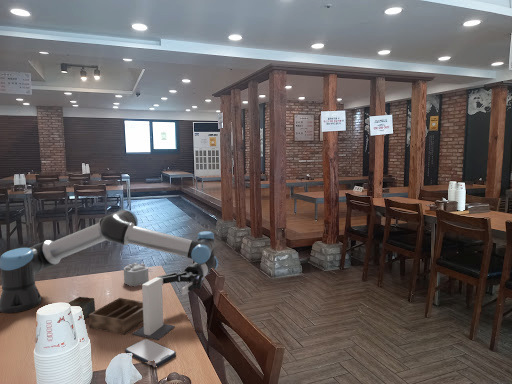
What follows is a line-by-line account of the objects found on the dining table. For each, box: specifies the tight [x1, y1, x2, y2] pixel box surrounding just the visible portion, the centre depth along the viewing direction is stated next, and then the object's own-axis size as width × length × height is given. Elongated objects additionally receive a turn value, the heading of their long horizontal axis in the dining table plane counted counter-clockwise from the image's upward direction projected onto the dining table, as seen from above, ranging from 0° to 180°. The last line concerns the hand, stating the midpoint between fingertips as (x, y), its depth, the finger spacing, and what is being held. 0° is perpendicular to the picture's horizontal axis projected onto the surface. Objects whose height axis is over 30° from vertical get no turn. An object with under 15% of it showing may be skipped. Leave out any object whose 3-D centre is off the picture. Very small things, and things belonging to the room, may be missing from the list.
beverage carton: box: [68, 296, 96, 320], centre depth 135 cm, size 8×19×7 cm, turn 164°
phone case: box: [124, 338, 177, 368], centre depth 113 cm, size 9×2×16 cm
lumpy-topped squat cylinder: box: [123, 262, 150, 287], centre depth 177 cm, size 10×13×9 cm
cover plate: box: [141, 276, 164, 335], centre depth 126 cm, size 2×8×18 cm, turn 159°
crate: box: [88, 297, 144, 336], centre depth 135 cm, size 16×16×5 cm
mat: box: [131, 323, 176, 341], centre depth 127 cm, size 11×10×1 cm
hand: (167, 289), depth 134 cm, fingers open, 13 cm apart
